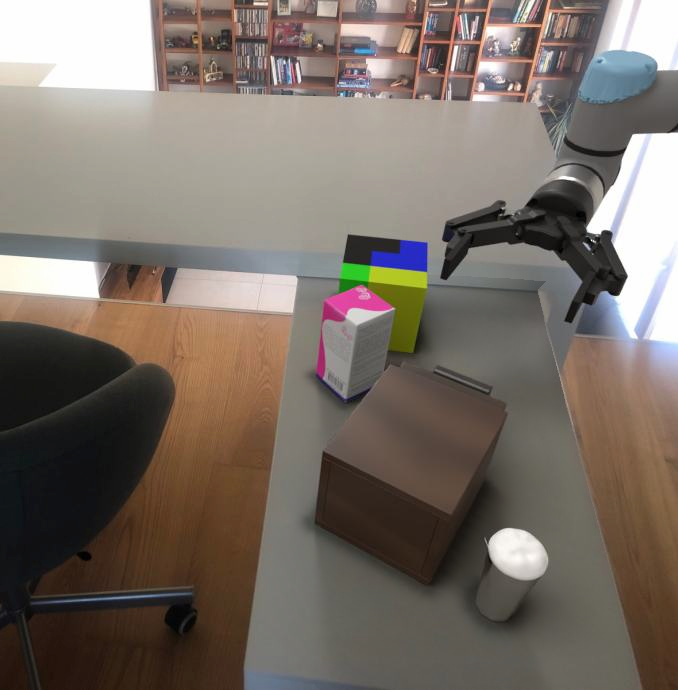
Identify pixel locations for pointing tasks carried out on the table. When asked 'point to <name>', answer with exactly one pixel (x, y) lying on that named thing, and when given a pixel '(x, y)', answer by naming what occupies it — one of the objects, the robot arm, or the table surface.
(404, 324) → the puzzle toy
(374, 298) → the supplement box
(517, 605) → the milkshake
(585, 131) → the robot arm
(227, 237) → the table surface
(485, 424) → the cabinet
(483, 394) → the drawer
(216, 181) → the table surface
